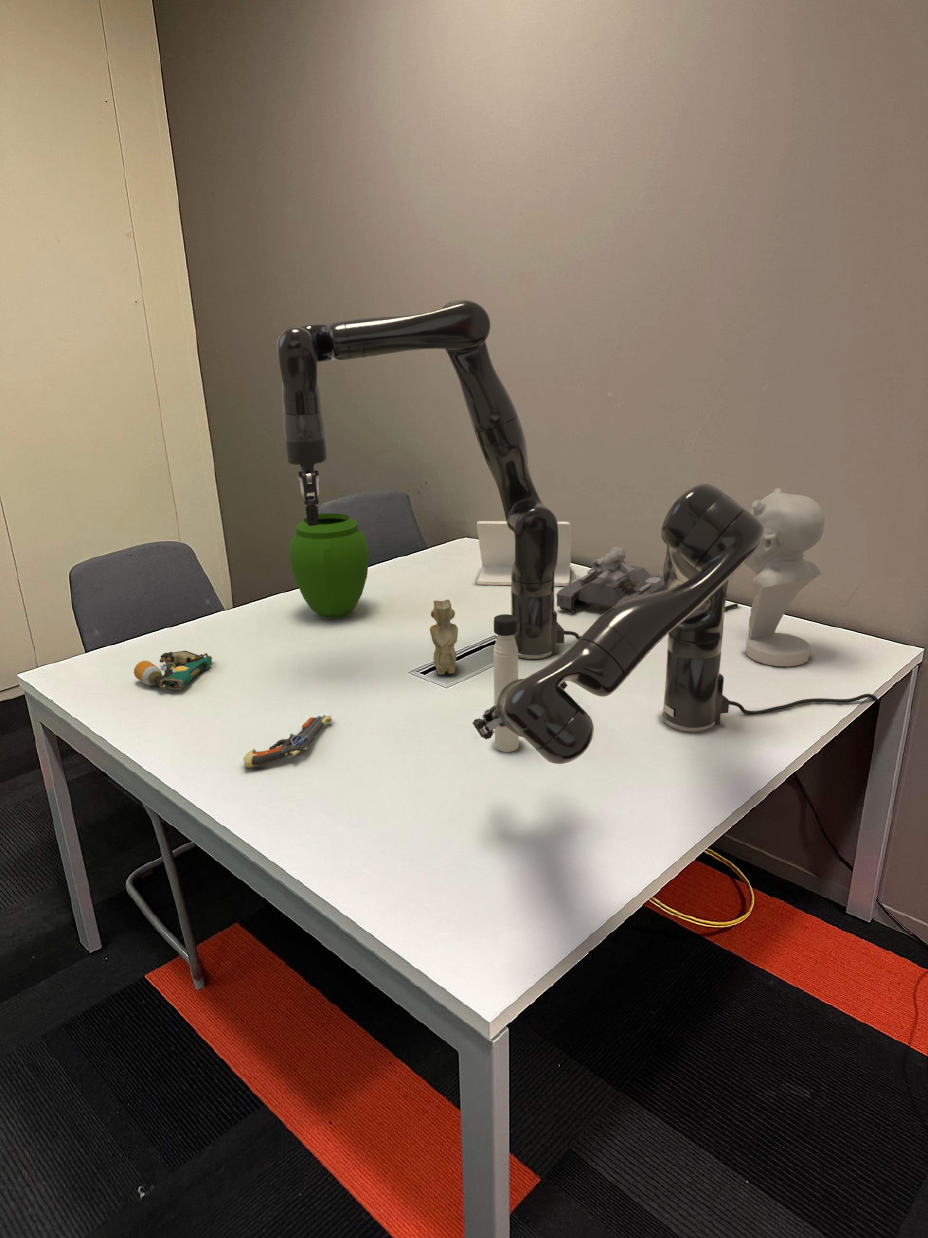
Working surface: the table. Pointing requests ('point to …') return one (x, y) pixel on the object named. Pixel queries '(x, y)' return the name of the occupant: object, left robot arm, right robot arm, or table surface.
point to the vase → (330, 564)
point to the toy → (609, 584)
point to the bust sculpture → (781, 574)
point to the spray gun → (172, 669)
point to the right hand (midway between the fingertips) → (513, 700)
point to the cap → (505, 625)
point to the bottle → (503, 676)
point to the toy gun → (288, 743)
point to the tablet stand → (501, 553)
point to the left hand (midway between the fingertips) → (312, 520)
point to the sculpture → (444, 637)
